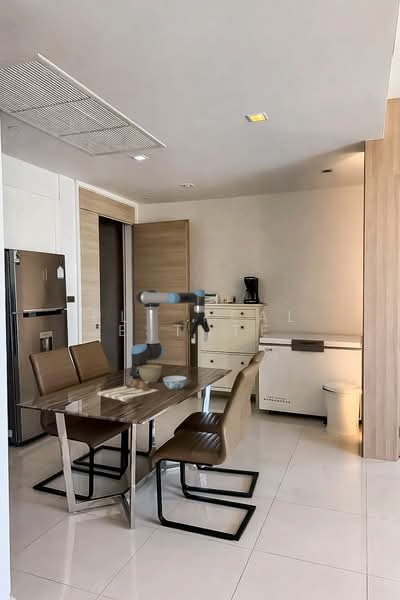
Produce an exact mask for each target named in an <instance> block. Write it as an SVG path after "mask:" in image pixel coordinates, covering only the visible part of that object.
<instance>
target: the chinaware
mask: <svg viewBox="0 0 400 600" xmlns="http://www.w3.org/2000/svg"><path fill="white" fill-rule="evenodd" d="M187 379H188V378H187V376H183V375H169V376H168V375H167V376H164V377H163V378H162V380H163V384H164V385H165V387H166V388H167V389H169V390H179V389H180V390H181V389H182V388H183V387H185V384H186V382H187Z"/></svg>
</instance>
